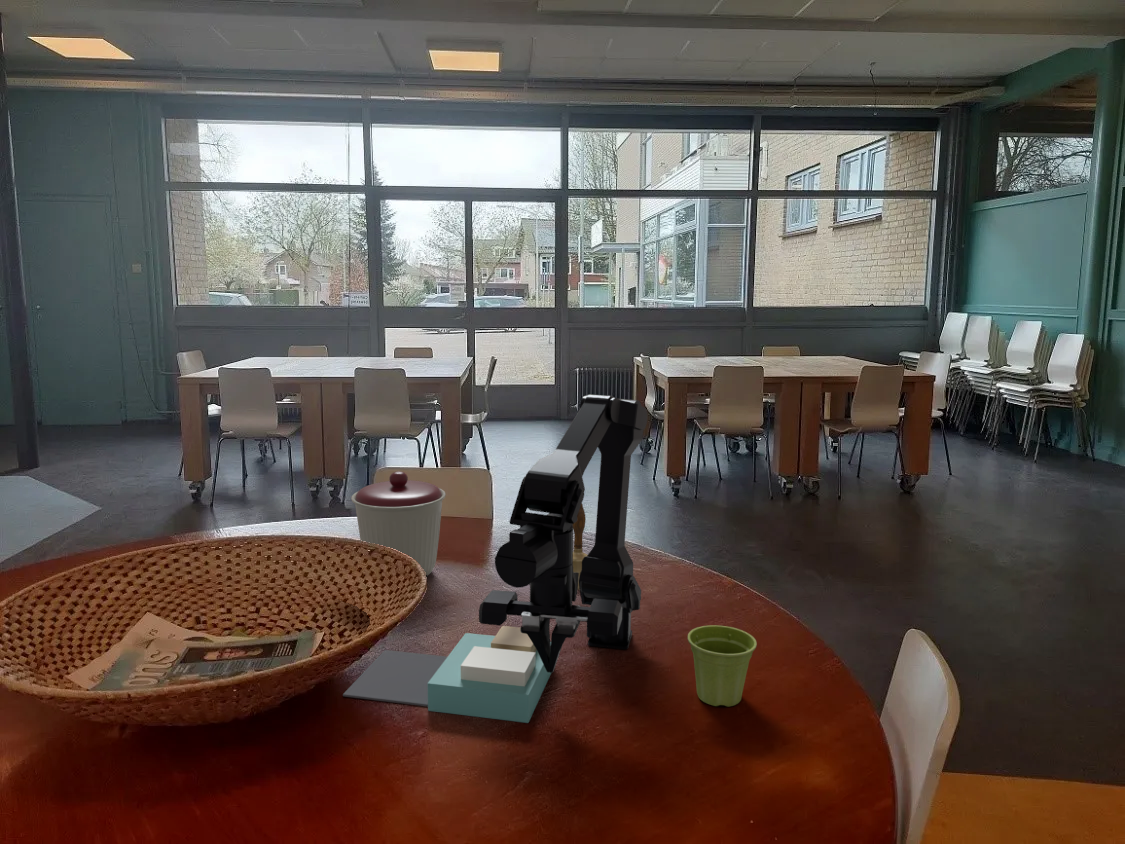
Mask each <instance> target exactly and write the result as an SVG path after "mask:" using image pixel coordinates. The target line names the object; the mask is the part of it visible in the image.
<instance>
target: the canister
mask: <svg viewBox="0 0 1125 844" xmlns="http://www.w3.org/2000/svg"><path fill="white" fill-rule="evenodd" d="M350 498H351V502H352V503H353V504H354V506H355V512H356V514H355V515H356V520H357V526H358V531H359V534H358V535H359V539H360V540H359V541H361V540H362V541H366V542H370V543H375V544H379V545H383V546H386V547H390V548H393V549H396V550H398V551H400V552H402V553H405V554H407V555H409V556H410V557H412V558H413V559H415V560H416V561H417V562H418V563H419V564H420V565H421V567H422V568H423V569H424V571H425V572H426V575H427V576H426V577H428V576H429V575H430V574H431V573H432V572H433V571H434V569H435V565H436V562H437V556H438V550H439V549H438V547H439V541H440V540H439V539H440V531H441V530H440V529H441V519H442V508H443V500H444V499H445V498H446V491H445V490H443V489H442V488H440V487H438V486H436V484H433V483H430V482H426V481H421V480H411V479H410V480H409V479H408V475H407V473H405V472H404V471H398V470H397V471H394V472H392V473H391V474H390V475H389V479H388V481H381V482H376V483H372V484H369V485H366V486H364V487H362V488H361V489H359V490H358V491H356V492H354V493H353V494H352V495H351V497H350Z"/></svg>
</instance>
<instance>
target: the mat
mask: <svg viewBox="0 0 1125 844" xmlns="http://www.w3.org/2000/svg"><path fill="white" fill-rule="evenodd" d="M447 657H448V655H447V656H445V655H437V654H426V653H417V652H410V651H409V652H406V651H398V650H388V649H384V650H383V651H382V652H381V654H379V656H378V657H377V658H376V659H375V660H374V661H373V662H372V663H371V664H370V665H369V666H368V667H367V668H366V669H365V670H364V672H363V673H362V674H361V675H360V676H358V678H357V679H356V680H355V681H354V682H353V683H352V684H351V685H350V686H349V687H348V688H347V690H345V691H344V693H343V694H342V696H343V697H346V698H354V699H362V700H363V699H364V700H372V701H379V702H388V703H397V704H402V705H403V704H405V705H411V706H412V705H414V706H421V707H428V682H429V681H430V679H431V678H432V677H433V675H434V674H435V673H436V671H437V670H438V669H439V668H440V666H441V665H442V664H443V662H444V661H445V660H446V658H447Z"/></svg>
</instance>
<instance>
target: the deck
mask: <svg viewBox="0 0 1125 844" xmlns="http://www.w3.org/2000/svg"><path fill="white" fill-rule="evenodd" d="M495 636H496V635H489V634H478V633H469V632H465V633H464V635H463V636H462V637H461V638H460V640H459V641H458V643H457V644H456V645H455V646H454V648H453V649H452V651H451V652H450V653H449V654H448V655H447V658H446V660H445V661H444V662H443V664H442V665H441V666H440V668H439V669H438V670H437V671H436V673H435V674H434V675H433V677H432V678H431V679H430V681H429V682H428V706H427V711H428V712H437V713H444V714H452V715H460V716H461V715H462V716H469V717H475V718H485V719H491V720H492V719H493V720H501V721H509V722H517V723H525V724H529V722H530V721H531V718H532V716H533V714H534V711H535V709H536V707H537V705H538V703H539V701H540V699H541V696H542V695H543V692H544V690H545V688H546V685H547V683H548V681H549V679H550V676H551V675H552V673H550V672H547V671H546V669H545V667H544V664H543V662H542V660H541V658H540V656H539V653H538V651H537V650H536V652H535V668H534V670H533V672H532V674H531V675H530V677H529V679H528V681H527V683H526V685H525V686H516V685H507V684H498V683H489V682H480V681H471V680H463V679H461V664H462V663H463V661H464V660H465V659H466V657H467V656H468V654H469V653H470V652H471V650H472V649H473V647H474V646H478V647H487V648H491V642H492V640H493V639H494V637H495ZM550 643H551V641H550Z"/></svg>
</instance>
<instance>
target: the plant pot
mask: <svg viewBox="0 0 1125 844" xmlns="http://www.w3.org/2000/svg"><path fill="white" fill-rule="evenodd" d="M687 641H688V643H689V645H690V649H691V651H692V654H693V664H694V675H695V684H696V685H695V686H696V694H697V697H698V698H699V700H701V702H703V703H705V704H708V705H711V706H713V707H719V706H725V707H733V706H736V705H738V704H739V703H740V702H741V701H742V696H743V692H744V686H745V683H746V677H747V673H748V669H749V665H750V664H749V663H750V660H751V659H752V656H753V652H754V651H755V650H756V649H757V646H758V645H757V644H758V643H757V640H756V638H755V637H754V636H753V635H752V634H750V633H749V632H746V631H745V630H742V629H740V628H736V627H733V626H725V625H715V624H714V625H703V626H697V627H695V628H693V629H691V630H690V631H689V632H688V634H687Z"/></svg>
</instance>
